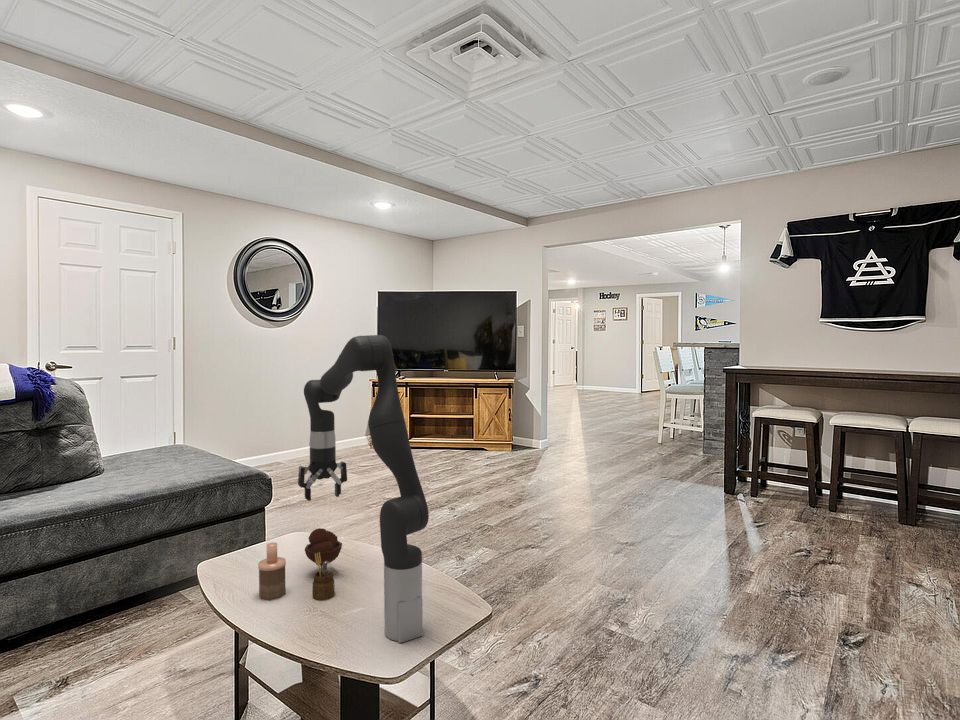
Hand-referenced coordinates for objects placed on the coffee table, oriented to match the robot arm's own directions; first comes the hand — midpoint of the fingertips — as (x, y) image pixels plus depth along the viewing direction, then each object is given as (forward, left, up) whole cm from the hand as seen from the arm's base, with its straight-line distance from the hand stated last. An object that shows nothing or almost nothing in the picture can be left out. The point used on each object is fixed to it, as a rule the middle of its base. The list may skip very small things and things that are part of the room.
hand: (323, 498), depth 163 cm
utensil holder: (-14, +4, -24) cm, 28 cm away
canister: (-6, +16, -24) cm, 30 cm away
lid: (-6, +16, -15) cm, 23 cm away
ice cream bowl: (0, 0, -24) cm, 24 cm away
